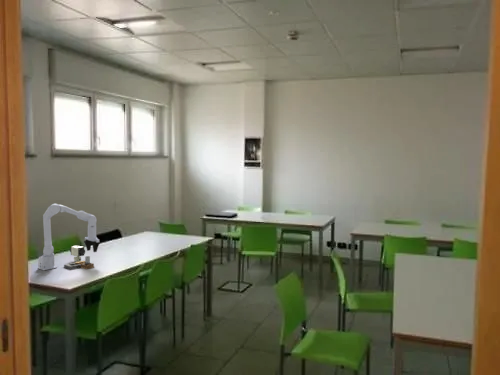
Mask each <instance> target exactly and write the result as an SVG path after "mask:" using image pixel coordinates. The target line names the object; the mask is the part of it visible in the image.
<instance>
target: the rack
mask: <svg viewBox="0 0 500 375" xmlns="http://www.w3.org/2000/svg"><path fill="white" fill-rule="evenodd" d="M93 268H95V264H94V263H93V262H90V264H89V265H85V263H83V264H81V269H84V270H88V269H93Z"/></svg>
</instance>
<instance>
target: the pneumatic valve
mask: <svg viewBox="0 0 500 375" xmlns="http://www.w3.org/2000/svg"><path fill="white" fill-rule="evenodd" d="M69 252H70V256H74V257H73V263H75V262H79V261H82V259H81V258H82V257H83V256H84V257H85V254H86V249H85V246H83V245H82V246H80V245H78V244H77V245H73V246H72V245H71V246H70V249H69Z"/></svg>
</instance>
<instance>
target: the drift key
mask: <svg viewBox="0 0 500 375" xmlns="http://www.w3.org/2000/svg"><path fill="white" fill-rule="evenodd" d="M74 263H75V265H77V264H83V263H85V260H81V261H79V262H74Z"/></svg>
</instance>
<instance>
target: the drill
mask: <svg viewBox="0 0 500 375" xmlns="http://www.w3.org/2000/svg"><path fill="white" fill-rule="evenodd" d="M84 258H85V259H84V261H85V265H89V264H90V263H91V256H89V255H87V256H84Z"/></svg>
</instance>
